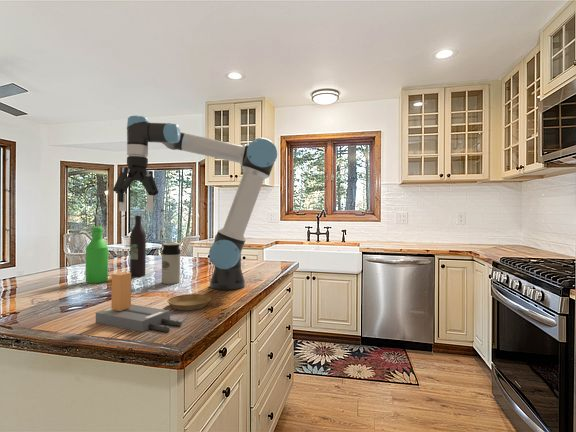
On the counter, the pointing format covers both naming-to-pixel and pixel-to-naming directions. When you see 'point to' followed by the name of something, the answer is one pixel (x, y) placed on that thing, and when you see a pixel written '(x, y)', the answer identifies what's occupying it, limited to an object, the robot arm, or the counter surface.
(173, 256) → the travel mug
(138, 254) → the wine bottle
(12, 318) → the counter surface
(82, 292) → the counter surface
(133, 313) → the switch box
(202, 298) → the plant saucer
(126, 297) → the breaker handle
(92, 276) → the bottle
